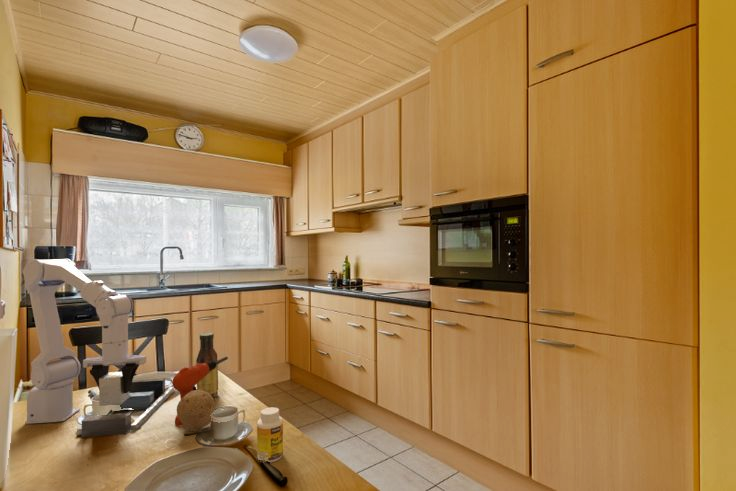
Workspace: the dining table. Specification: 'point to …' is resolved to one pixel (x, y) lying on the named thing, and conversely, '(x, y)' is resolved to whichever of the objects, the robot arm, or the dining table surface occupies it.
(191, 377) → the toy drill
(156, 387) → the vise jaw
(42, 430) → the dining table surface
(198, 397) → the natural sponge
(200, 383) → the sauce bottle
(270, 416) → the supplement bottle
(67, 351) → the robot arm
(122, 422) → the vise base
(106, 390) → the steel block
